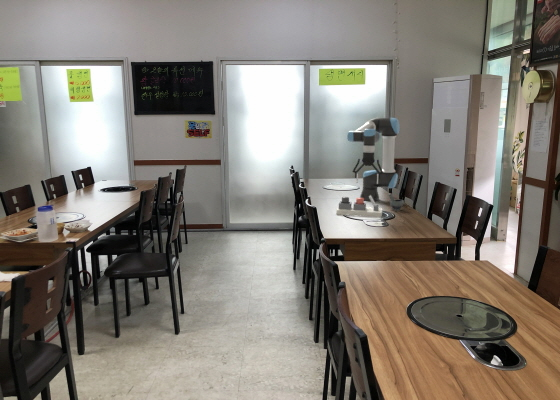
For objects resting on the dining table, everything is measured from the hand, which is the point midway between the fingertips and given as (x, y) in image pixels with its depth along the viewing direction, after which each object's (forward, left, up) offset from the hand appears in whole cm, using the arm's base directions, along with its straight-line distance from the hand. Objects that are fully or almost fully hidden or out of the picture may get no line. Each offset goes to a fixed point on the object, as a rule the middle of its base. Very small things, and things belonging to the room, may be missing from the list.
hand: (367, 183), depth 308 cm
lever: (+1, +7, -17) cm, 18 cm away
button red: (+1, -4, -16) cm, 16 cm away
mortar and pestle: (-18, +20, -21) cm, 34 cm away
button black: (+1, -14, -16) cm, 21 cm away
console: (+1, -4, -21) cm, 21 cm away
